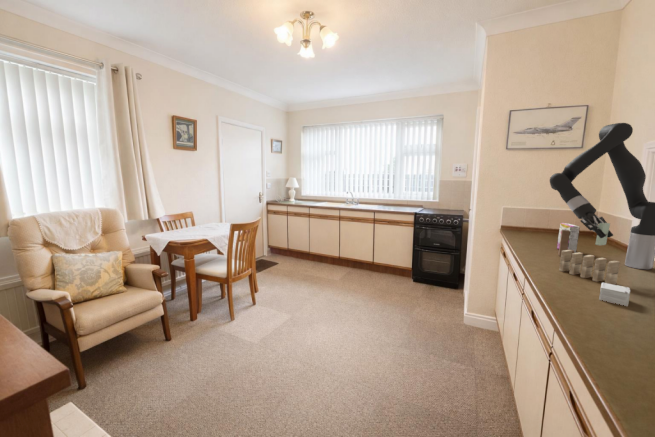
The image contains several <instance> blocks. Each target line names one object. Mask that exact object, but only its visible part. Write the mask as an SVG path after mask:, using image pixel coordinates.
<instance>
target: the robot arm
mask: <svg viewBox="0 0 655 437" xmlns="http://www.w3.org/2000/svg"><path fill="white" fill-rule="evenodd" d="M633 130H634V129H633V127H632V125H631V124H630V123H627V122H616V123H612V124H606V125H605V126H602V128H601V129H600V130H599V133H598V138H599V141H598V142H597V143H596V144H595V145H593V146H591V147H590V148H588V149H587V150H585V151H584V152H581V153H580V154H579V155H577V156H575V158H573V159H572V160H571V161H570V162H569V163H567V165H565V167H564V168H563V170H562V171H561V172H556V173H554V174H552V175H551V176H550V177H549V185H550V187H551V189H553V190H555V191H557V192H558V193H559V195H560V198H561V199H562V201H563V202H565V204H566V205H567V206H568V208H569V209H570V211H571V212H572V213H573V214H574V215H575V216H576V217H577V219H579V221H580V223H581V224H583V225H584V226H585V227H586V228H587V229H588V230H589V231H590V232H591V231H592V232H595V234H596V236H597V235H598V236H599V237H600V238H604V237H605V236H606V235H605V233H604V232H603V231H602V230H601V229H600V228H599V223H608V222H607V221H606V219H605V218H604V217H603V216H600V217H599V216H598V215H597V214H596V212H597V209H596V208H595V207H594V205H593V204H592V203H590V201H589V199H587V198H586V197H585V196H584V195H583V194H582V193H581V192H580V191H579V190H578V189H577V188H576V187H575V186H574V184H573V181H574V180H575V179H576V178H577V177H578V176H579V175H580V174H581V173H583V171H585V170H586V169H587V168H588V167H590V166H591V165H592V164H593V163H594V162H596V161H598V159H600V158H601V157H603V156H604V155H605V154H608V156H609V159H610V161H611V162H610V163H611V164H612V166H613V168H614V171H615V174H616V176H617V179H618V181H619V183H620V185H621V187H622V190H623V192H624V195H625V198H626V201H627V202H626V203H627V206H628V211H629V213H630V215H631V216H632V217H633V218H635V219H637V220H639V224H637V225H635V226H632V227H631V228H630V233H629V238H628V244H627V250H626V254H625V259H624V260H625V261H624V265H625V266H627V267H630V268H633V269H639V270H651V269H653V268H654V262H655V201H649V200H648V199H647V197H646V194H645V192H644V186H645V182H646V178H647V176H646V172H645V170H644V167H643V165H642V163H641V162H640V160H639V159H638V158H637V157H636V156H635V155H633V153H631V151H629V149H628V148H627V147H626V144H625V141H627V140H628V139H630V137H631V135H633ZM613 236H614V234H613V233H612V232H611V230H610V229H609V231H608V236H607V238H612V237H613Z"/></svg>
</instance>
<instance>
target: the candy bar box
mask: <svg viewBox="0 0 655 437" xmlns="http://www.w3.org/2000/svg"><path fill="white" fill-rule="evenodd" d="M580 228H581V226H578V225H575V224H572V223H568V222H567V223H565V222H560V223H559V228H558V229H559V230H558V236H557V244H556V249H557V250H559V246H560V238H561V231H562V230H569V231H570V234H569V241H568V249H569V250H574V253H577V251H578V250H577V249H578V243H579V236H580Z"/></svg>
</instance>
